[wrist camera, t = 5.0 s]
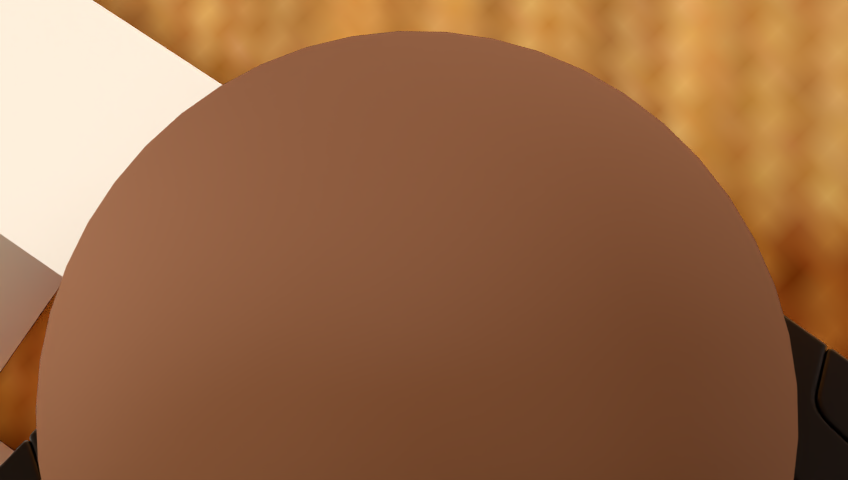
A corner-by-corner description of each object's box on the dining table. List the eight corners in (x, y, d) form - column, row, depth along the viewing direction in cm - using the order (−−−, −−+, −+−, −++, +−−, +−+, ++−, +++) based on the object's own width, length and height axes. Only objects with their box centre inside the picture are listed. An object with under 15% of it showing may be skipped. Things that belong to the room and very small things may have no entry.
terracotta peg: (465, 483, 16) (507, 987, 4) (307, 367, 16) (-115, 486, 4) (577, 321, 16) (947, 307, 4) (419, 210, 16) (328, -104, 4)
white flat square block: (179, 845, 22) (103, 990, 17) (-309, 474, 23) (-502, 513, 18) (531, 302, 23) (551, 298, 18) (44, -16, 24) (-54, -96, 20)
